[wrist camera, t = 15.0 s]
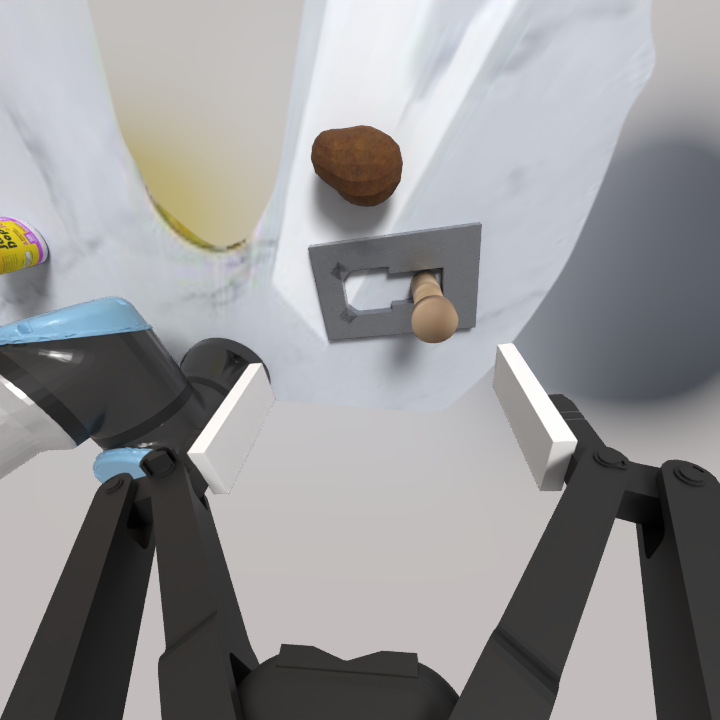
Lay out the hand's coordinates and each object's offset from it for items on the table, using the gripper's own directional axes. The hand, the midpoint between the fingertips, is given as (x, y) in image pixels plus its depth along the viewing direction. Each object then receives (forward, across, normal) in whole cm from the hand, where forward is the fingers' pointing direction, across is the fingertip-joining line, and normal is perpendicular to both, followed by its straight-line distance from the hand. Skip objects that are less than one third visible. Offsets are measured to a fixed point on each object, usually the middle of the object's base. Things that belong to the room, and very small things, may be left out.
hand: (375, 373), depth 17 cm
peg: (+29, +5, -5) cm, 30 cm away
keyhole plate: (+29, +1, -5) cm, 29 cm away
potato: (+29, -2, +10) cm, 31 cm away
